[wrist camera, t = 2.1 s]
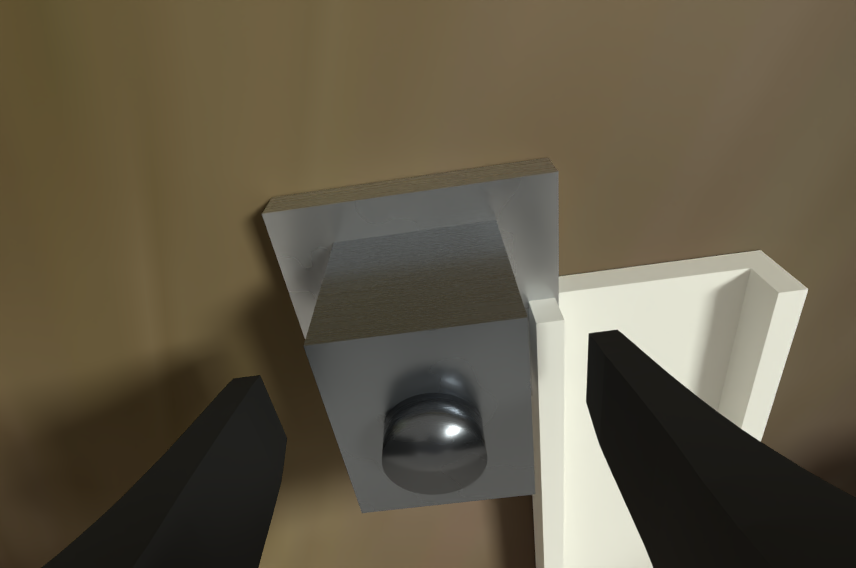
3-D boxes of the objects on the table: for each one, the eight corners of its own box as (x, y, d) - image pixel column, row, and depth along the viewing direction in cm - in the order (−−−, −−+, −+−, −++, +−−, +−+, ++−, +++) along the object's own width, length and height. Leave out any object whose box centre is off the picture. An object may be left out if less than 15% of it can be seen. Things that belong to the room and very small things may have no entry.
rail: (760, 250, 14) (808, 289, 12) (665, 646, 27) (682, 692, 25) (521, 281, 14) (536, 323, 13) (540, 657, 27) (548, 703, 25)
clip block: (496, 220, 12) (537, 346, 8) (507, 373, 15) (542, 527, 11) (334, 242, 12) (294, 376, 8) (373, 390, 15) (358, 546, 11)
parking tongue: (548, 157, 12) (558, 171, 12) (551, 370, 16) (559, 392, 15) (271, 197, 13) (261, 213, 12) (336, 396, 16) (332, 419, 16)
